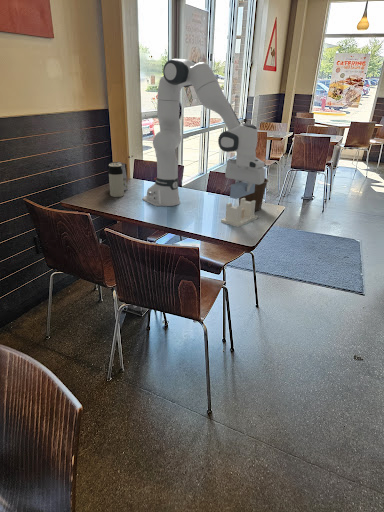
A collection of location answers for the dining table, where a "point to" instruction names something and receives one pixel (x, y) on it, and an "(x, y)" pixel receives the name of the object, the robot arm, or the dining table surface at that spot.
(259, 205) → the plant pot
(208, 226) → the dining table surface
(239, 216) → the display stand
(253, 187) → the blue-grey block
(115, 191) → the travel mug
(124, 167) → the coffee box
